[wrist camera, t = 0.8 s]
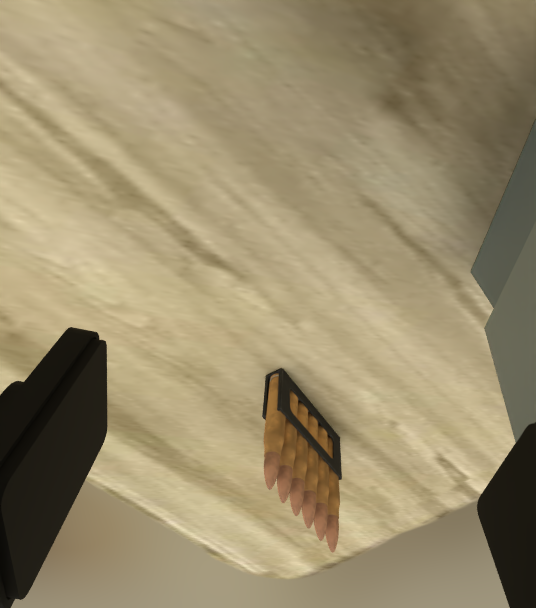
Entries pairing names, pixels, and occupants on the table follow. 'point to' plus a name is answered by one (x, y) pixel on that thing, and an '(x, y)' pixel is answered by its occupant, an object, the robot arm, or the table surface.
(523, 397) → the lid
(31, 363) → the table surface
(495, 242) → the box
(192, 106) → the table surface
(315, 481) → the ammunition clip
